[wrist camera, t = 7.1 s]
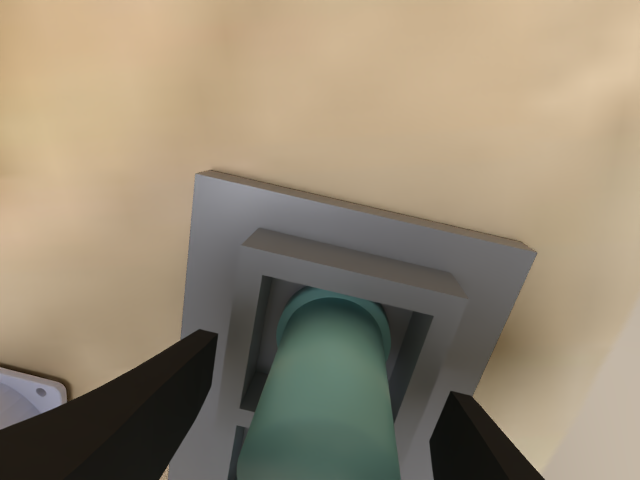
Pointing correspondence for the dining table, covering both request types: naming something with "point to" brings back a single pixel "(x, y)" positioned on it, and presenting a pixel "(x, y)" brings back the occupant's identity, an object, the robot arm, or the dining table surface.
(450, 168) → the dining table surface
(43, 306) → the dining table surface
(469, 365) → the housing
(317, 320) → the pin
